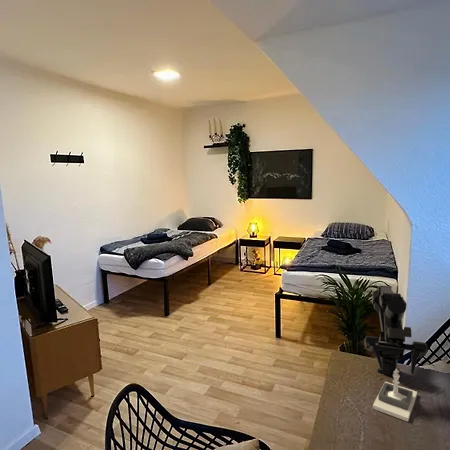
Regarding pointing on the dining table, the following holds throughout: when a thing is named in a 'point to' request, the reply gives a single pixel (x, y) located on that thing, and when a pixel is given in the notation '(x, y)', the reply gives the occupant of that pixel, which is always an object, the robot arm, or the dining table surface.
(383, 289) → the robot arm
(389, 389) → the board
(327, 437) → the dining table surface
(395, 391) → the chess piece
